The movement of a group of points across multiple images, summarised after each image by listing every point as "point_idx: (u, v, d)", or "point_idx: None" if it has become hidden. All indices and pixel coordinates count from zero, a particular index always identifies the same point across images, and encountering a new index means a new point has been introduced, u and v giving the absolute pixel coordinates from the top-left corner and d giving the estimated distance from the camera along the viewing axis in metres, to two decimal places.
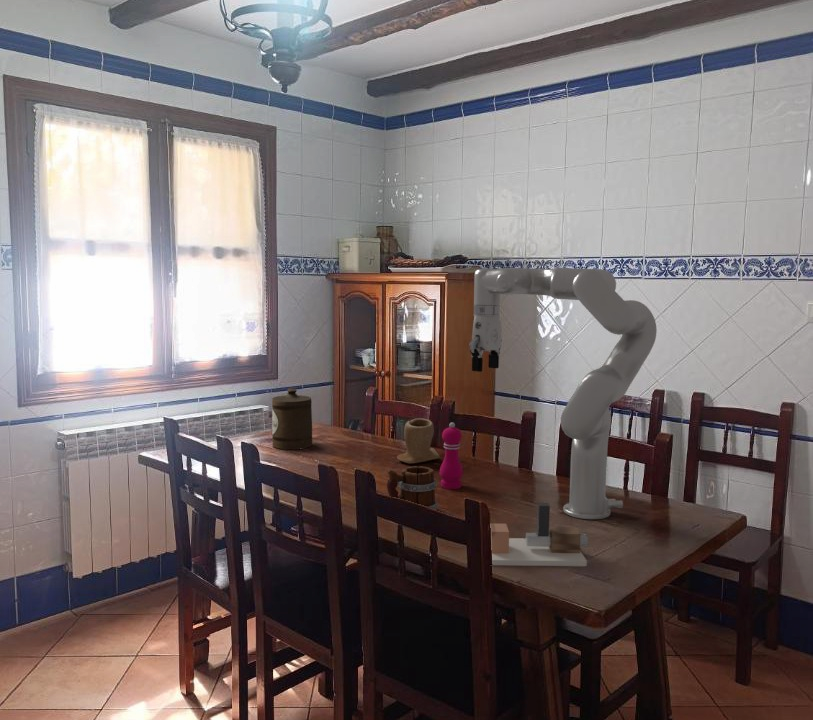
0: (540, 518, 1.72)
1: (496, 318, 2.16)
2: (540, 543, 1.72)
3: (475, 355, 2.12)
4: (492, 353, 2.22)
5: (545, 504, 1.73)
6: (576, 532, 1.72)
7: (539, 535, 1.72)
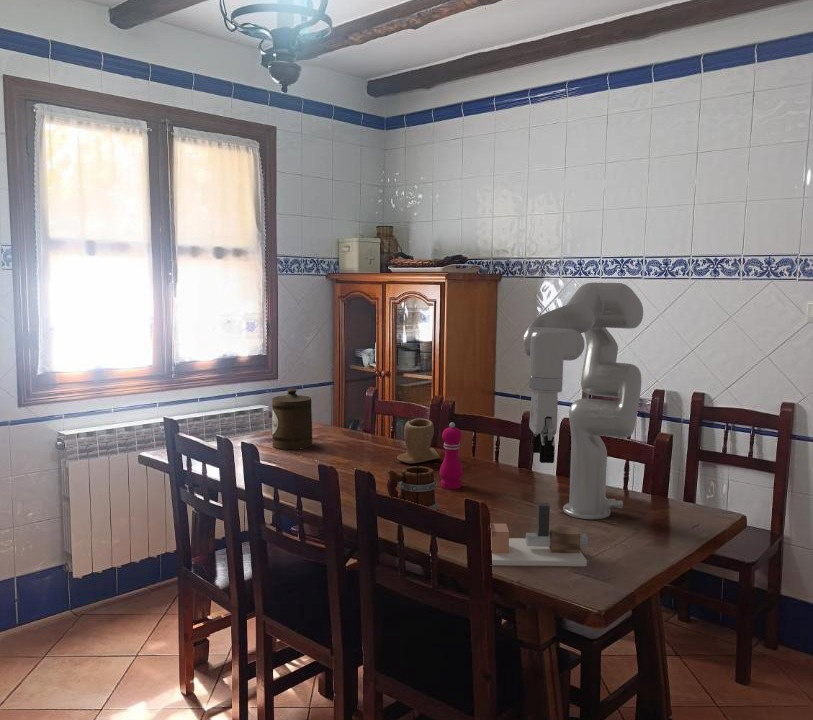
0: (540, 518, 1.72)
1: (534, 393, 1.69)
2: (540, 543, 1.72)
3: None
4: None
5: (545, 504, 1.73)
6: (576, 532, 1.72)
7: (539, 535, 1.72)
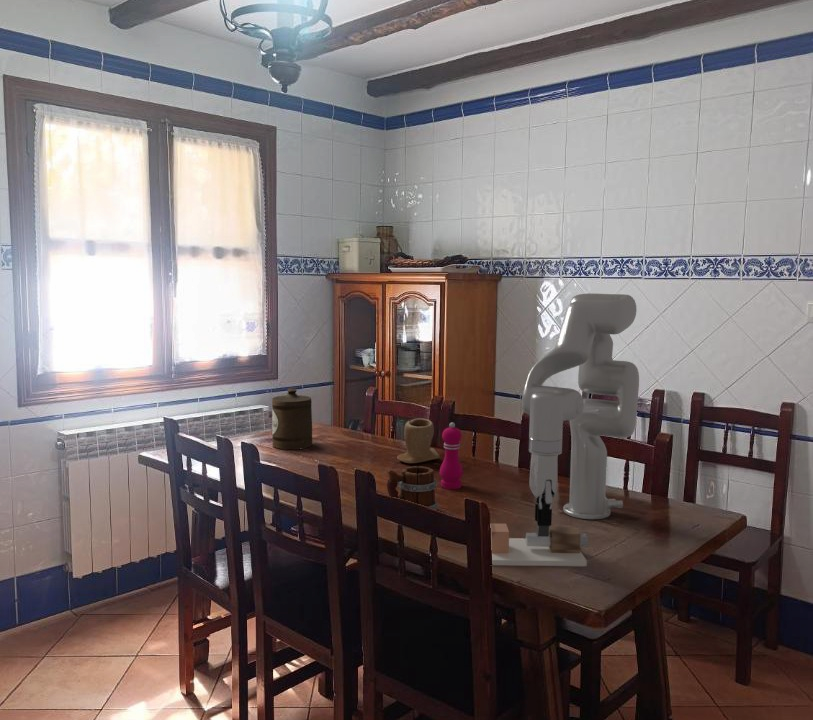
0: None
1: (534, 455, 1.70)
2: (540, 543, 1.72)
3: None
4: None
5: None
6: (576, 532, 1.72)
7: (539, 535, 1.72)
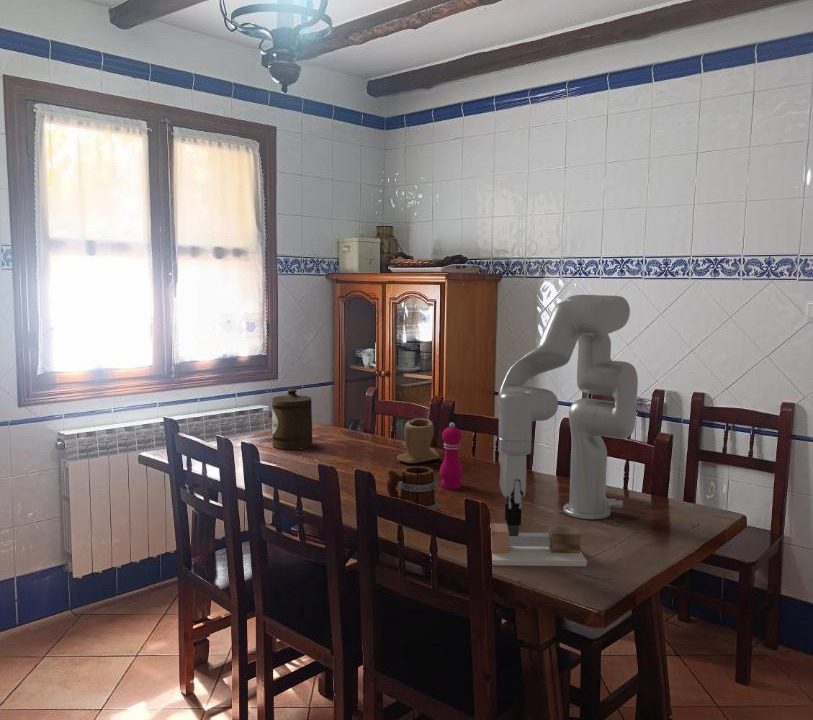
0: None
1: (503, 455, 1.70)
2: (510, 543, 1.72)
3: None
4: None
5: None
6: (576, 532, 1.72)
7: (509, 535, 1.72)
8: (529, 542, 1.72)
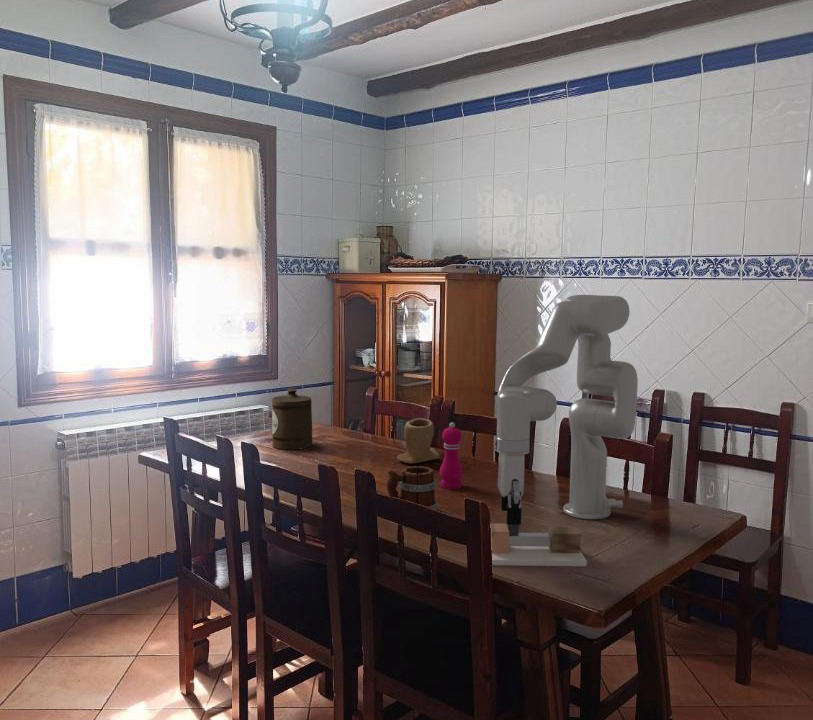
0: None
1: (501, 454, 1.70)
2: (510, 543, 1.72)
3: None
4: None
5: None
6: (576, 532, 1.72)
7: (509, 535, 1.72)
8: (529, 542, 1.72)
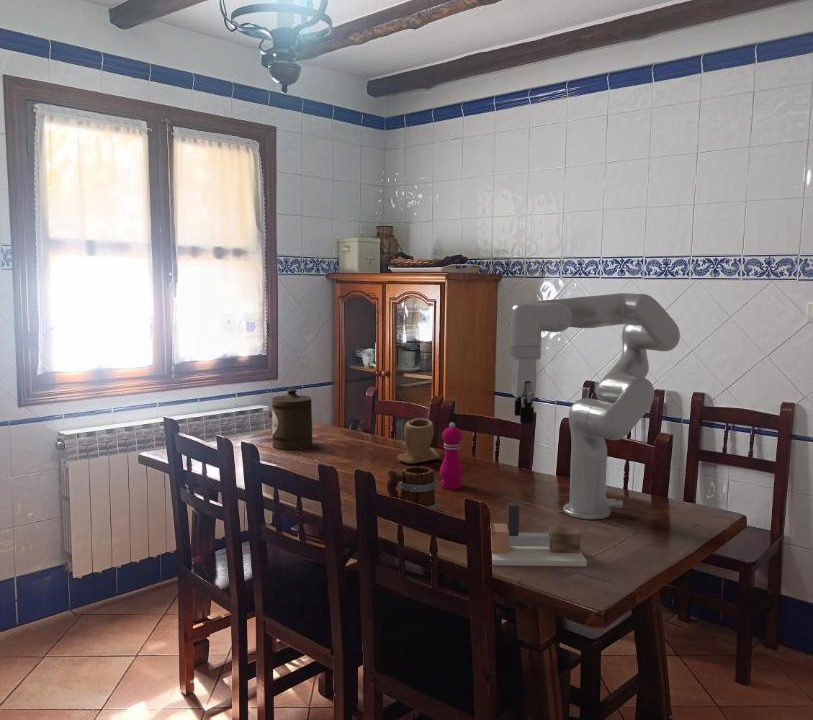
0: (510, 518, 1.72)
1: (515, 360, 1.87)
2: (510, 543, 1.72)
3: None
4: None
5: (515, 503, 1.73)
6: (576, 532, 1.72)
7: (509, 535, 1.72)
8: (529, 542, 1.72)
